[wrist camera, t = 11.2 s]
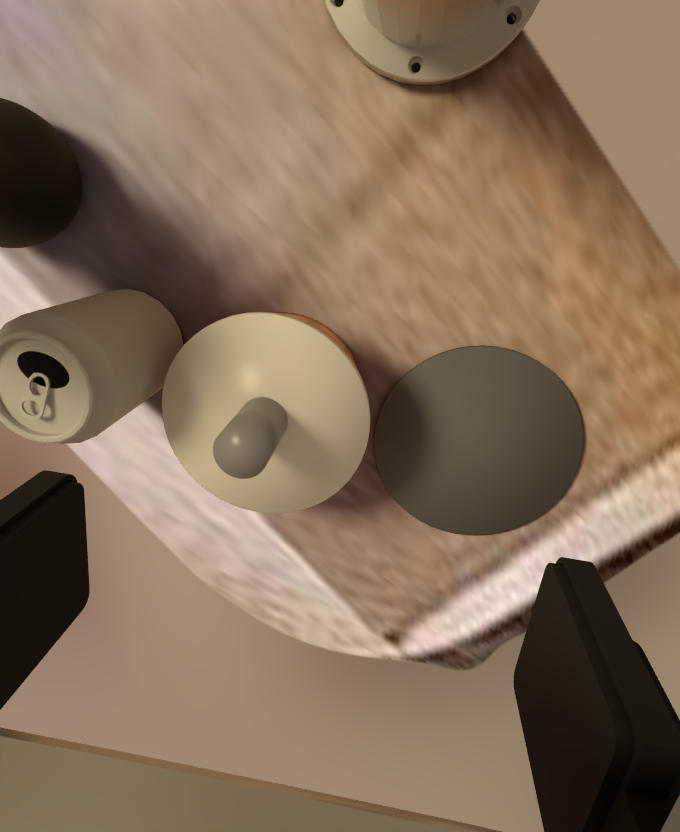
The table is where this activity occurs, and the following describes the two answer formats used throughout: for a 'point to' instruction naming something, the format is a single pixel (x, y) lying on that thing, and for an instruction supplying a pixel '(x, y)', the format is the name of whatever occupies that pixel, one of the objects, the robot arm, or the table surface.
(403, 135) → the table surface
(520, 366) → the mat
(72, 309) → the can
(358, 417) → the lid
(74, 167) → the cola bottle
